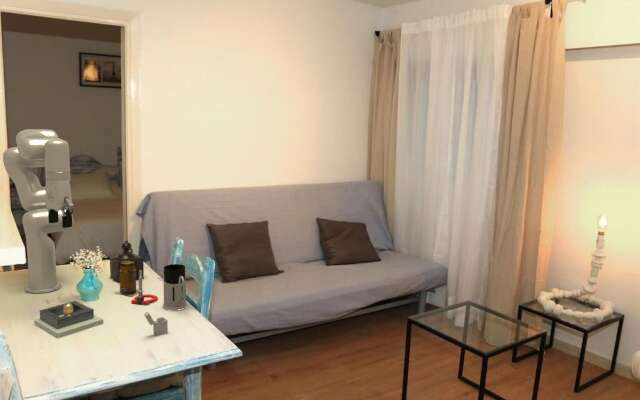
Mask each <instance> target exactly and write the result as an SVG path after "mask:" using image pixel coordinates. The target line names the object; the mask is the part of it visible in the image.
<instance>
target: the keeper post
mask: <svg viewBox="0 0 640 400" xmlns="http://www.w3.org/2000/svg"><path fill="white" fill-rule="evenodd" d="M67 303H68V304H65V303H64V304H65V305H64V307H63V314H64V316H66V315H69V314H73V313H74V311H73V305H72V304H70V303H69V302H67Z"/></svg>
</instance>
